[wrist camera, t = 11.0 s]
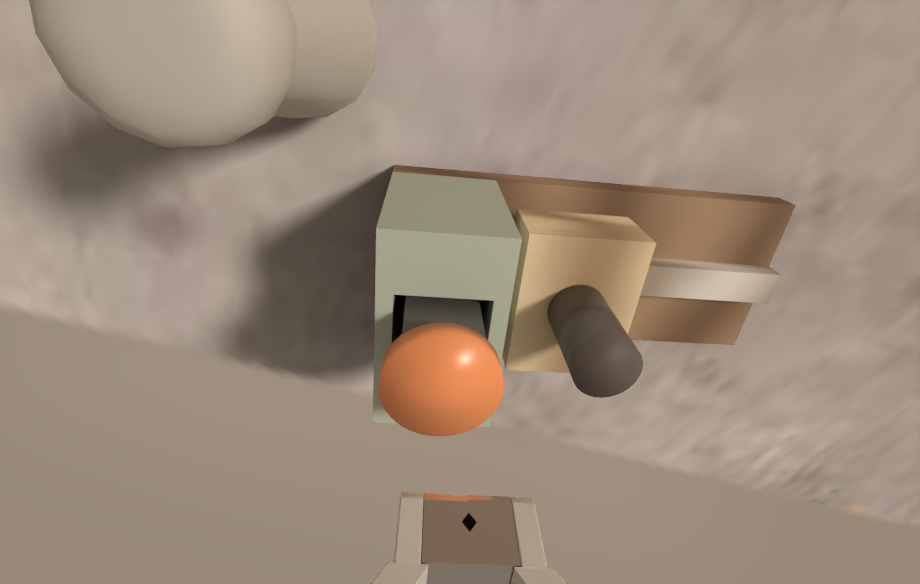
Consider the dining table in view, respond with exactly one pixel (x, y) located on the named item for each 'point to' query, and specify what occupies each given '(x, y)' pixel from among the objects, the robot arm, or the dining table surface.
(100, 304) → the dining table surface
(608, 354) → the carriage
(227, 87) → the salt shaker
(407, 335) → the button
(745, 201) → the rail bed
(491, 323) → the end cabinet
